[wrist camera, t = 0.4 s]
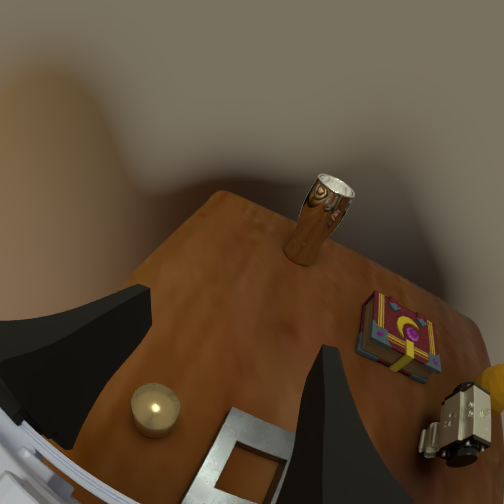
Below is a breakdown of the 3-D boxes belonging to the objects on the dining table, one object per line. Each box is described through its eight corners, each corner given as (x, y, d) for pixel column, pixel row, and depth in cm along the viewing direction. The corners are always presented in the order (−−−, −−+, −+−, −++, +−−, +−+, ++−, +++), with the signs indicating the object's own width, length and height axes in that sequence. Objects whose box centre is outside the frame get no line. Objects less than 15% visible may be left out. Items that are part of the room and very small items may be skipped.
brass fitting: (162, 446, 21) (165, 436, 18) (127, 424, 22) (122, 409, 18) (180, 416, 24) (188, 399, 21) (146, 395, 25) (147, 374, 21)
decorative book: (360, 304, 47) (376, 286, 44) (424, 339, 45) (441, 323, 42) (354, 353, 38) (373, 335, 35) (426, 387, 37) (447, 372, 34)
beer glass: (286, 236, 55) (319, 168, 45) (318, 252, 54) (356, 187, 45) (276, 255, 49) (314, 181, 40) (312, 273, 49) (356, 203, 39)
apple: (458, 427, 31) (511, 394, 23) (452, 383, 38) (498, 347, 31) (483, 429, 31) (530, 398, 24) (477, 389, 38) (518, 356, 31)
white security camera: (438, 417, 32) (495, 380, 24) (427, 480, 23) (497, 452, 15) (417, 406, 33) (475, 366, 26) (403, 472, 24) (476, 443, 17)
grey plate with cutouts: (307, 543, 16) (317, 545, 15) (177, 504, 17) (179, 506, 16) (337, 454, 25) (347, 451, 24) (227, 411, 26) (232, 406, 25)
